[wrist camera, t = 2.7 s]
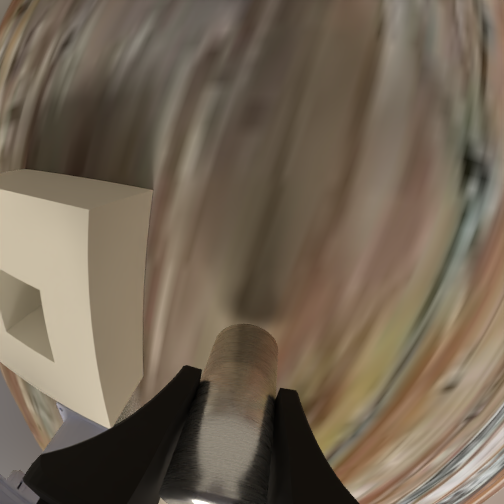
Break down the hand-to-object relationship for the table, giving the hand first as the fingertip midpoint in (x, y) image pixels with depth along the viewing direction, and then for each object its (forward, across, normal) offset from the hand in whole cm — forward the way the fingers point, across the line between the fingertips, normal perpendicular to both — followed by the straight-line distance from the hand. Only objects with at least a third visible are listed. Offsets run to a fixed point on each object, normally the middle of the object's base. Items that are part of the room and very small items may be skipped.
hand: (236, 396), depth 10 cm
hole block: (+5, +11, 0) cm, 12 cm away
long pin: (+3, 0, 0) cm, 3 cm away
